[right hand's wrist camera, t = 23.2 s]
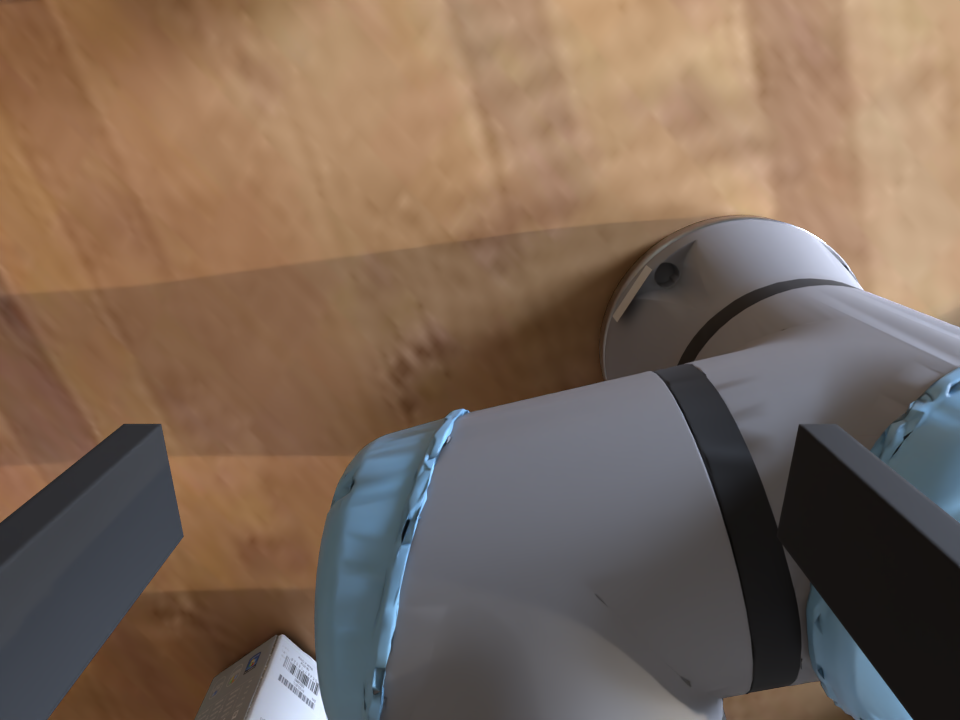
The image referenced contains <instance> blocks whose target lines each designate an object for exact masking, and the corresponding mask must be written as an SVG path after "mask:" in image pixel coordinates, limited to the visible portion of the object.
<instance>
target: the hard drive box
mask: <svg viewBox="0 0 960 720" xmlns="http://www.w3.org/2000/svg"><path fill="white" fill-rule="evenodd" d="M194 720H327V716H326V713H325V710H324V706H323V702H322V698H321V694H320V688H319V682H318V674H317V664H316V661H315V660H313V659H312V658H311V657H310V656H309V655H307V654H306V653H305V652H303V651H302V650H301V649H300V648H299V647H298V646H296V645H295V644H294V643H293V642H292V641H291V640H290V639H288V638H287V637H286V636H285V635H283V634H281V635H279V636H278V635H275V636H274V637H272V638H271V639H269V640H268V641H266V642H265V643H263V644H262V645H260V646H259V647H257V648H256V649H255V650H253V651H252V652H250V653H249V654H247V655H246V656H244V657H243V658H241V659H240V660H239V661H237V662H236V663H234V664H233V665H231V666H230V667H228V668H227V669H225V670H224V671H223V672H221V673H220V674H218V675H217V676H216V677H214V679H213V681H212V683H211V685H210V687H209V689H208V691H207V694H206V696H205V698H204V700H203V702H202V704H201V706H200V709H199V711H198V713H197V715H196V717H195V719H194Z"/></svg>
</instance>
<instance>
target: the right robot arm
mask: <svg viewBox="0 0 960 720" xmlns="http://www.w3.org/2000/svg"><path fill="white" fill-rule="evenodd" d="M599 356H600V365H601V371H602V375H603V378H604V382H600V383H595V384H591V385H587V386H582V387H578V388H574V389H569V390H565V391H561V392H556V393H552V394H548V395H543V396H539V397H535V398H530V399H526V400H521V401H517V402H513V403H508V404H504V405H500V406H495V407H491V408H487V409H482V410H478V411H474V412H469V411H468V410H465V409H463V408H462V409H458V410H454V411H452V412H450V413H449V414H448V415H447V416H446V417H445V418H443V419H439V420H436V421H432V422H429V423H425V424H422V425H418V426H415V427H411V428H408V429H404V430H401V431H397V432H394V433H390V434H387V435H384V436H382V437H379V438H377V439H375V440H374V441H372V442H370V443H369V444H367V445H366V446H365V447H364V448H363V449H362V450H360V451H359V452H358V454H357V455H356V456H355V457H354V458H353V460H352V461H351V462H350V464H349V465H348V466H347V468H346V470H345V472H344V474H343V475H342V477H341V479H340V481H339V483H338V485H337V488H336V491H335V494H334V497H333V500H332V505H331V508H330V511H329V512H328V514H327V518H326V522H325V526H324V531H323V535H322V540H321V546H320V552H319V559H318V567H317V576H316V590H315V615H314V623H315V651H316V664H317V674H318V682H319V688H320V694H321V698H322V702H323V706H324V710H325V713H326V716H327V720H726V717H725V713H724V709H723V698H726V697H732V696H737V695H743V694H748V693H751V692H757V691H762V690H768V689H773V688H779V687H784V686H792V685H798V684H804V683H809V682H815V681H821V686H822V687H823V689H824V691H825V693H826V695H827V696H828V697H829V698H831V699H832V700H833V701H834V704H835V705H836V706H838V707H840V708H841V709H842V710H843V711H844V712H845V713H846V714H848V715H850V716H852V717H853V718H854V719H855V720H960V327H957V326H954V325H952V324H949V323H947V322H944V321H942V320H939V319H936V318H934V317H931V316H929V315H926V314H923V313H921V312H918V311H916V310H913V309H911V308H908V307H905V306H903V305H900V304H898V303H895V302H893V301H890V300H887V299H885V298H882V297H880V296H877V295H875V294H872V293H869V292H866V291H864V290H863V289H862V287H861V286H860V284H859V282H858V281H857V279H856V277H855V275H854V274H853V272H852V271H851V269H850V268H849V266H848V265H847V264H846V263H845V261H844V260H843V259H842V258H841V257H840V256H839V255H838V254H837V252H835V251H834V250H833V249H832V248H831V247H830V246H828V245H827V244H826V243H824V242H823V241H822V240H820V239H819V238H817V237H816V236H814V235H813V234H811V233H809V232H807V231H805V230H803V229H801V228H799V227H796V226H794V225H791V224H788V223H784V222H780V221H777V220H773V219H769V218H765V217H758V216H747V215H735V216H723V217H717V218H712V219H708V220H704V221H700V222H697V223H695V224H692V225H689V226H687V227H685V228H682V229H680V230H678V231H676V232H674V233H672V234H671V235H669V236H667V237H665V238H664V239H662V240H661V241H660V242H658V243H657V244H655V245H654V246H653V247H651V248H650V249H649V250H648V251H647V252H645V253H644V254H643V255H642V256H641V257H640V258H639V259H638V260H637V261H636V262H635V263H634V264H633V266H632V267H631V268H630V269H629V270H628V272H627V273H626V274H625V275H624V277H623V278H622V280H621V281H620V283H619V284H618V286H617V288H616V290H615V291H614V293H613V295H612V297H611V299H610V302H609V304H608V306H607V309H606V312H605V315H604V318H603V322H602V327H601V333H600V341H599ZM183 537H184V536H183V531H182V526H181V521H180V516H179V511H178V506H177V501H176V496H175V491H174V486H173V481H172V476H171V471H170V466H169V461H168V456H167V451H166V446H165V441H164V436H163V431H162V426H161V424H123V425H122V426H121V427H120V428H118V429H117V430H116V431H115V432H113V433H112V434H111V435H110V436H108V437H107V438H106V439H105V440H103V441H102V442H101V443H100V444H98V445H97V446H96V447H95V448H93V449H92V450H91V451H90V452H88V453H87V454H86V455H85V456H83V457H82V458H81V459H80V460H78V461H77V462H76V463H75V464H73V465H72V466H71V467H70V468H68V469H67V470H66V471H65V472H63V473H62V474H61V475H60V476H58V477H57V478H56V479H55V480H53V481H52V482H51V483H50V484H48V485H47V486H46V487H45V488H43V489H42V490H41V491H40V492H38V493H37V494H36V495H35V496H33V497H32V498H31V499H30V500H28V501H27V502H26V503H25V504H23V505H22V506H21V507H20V508H18V509H17V510H16V511H15V512H13V513H12V514H11V515H10V516H8V517H7V518H6V519H5V520H3V521H2V522H1V523H0V720H47V719H48V718H49V716H50V715H51V714H52V712H53V711H54V710H55V708H56V707H57V706H58V704H59V703H60V702H61V700H62V699H63V698H64V696H65V695H66V694H67V692H68V691H69V690H70V688H71V687H72V686H73V684H74V683H75V682H76V680H77V679H78V678H79V676H80V675H81V673H82V672H83V671H84V669H85V668H86V667H87V665H88V664H89V663H90V661H91V660H92V659H93V657H94V656H95V655H96V653H97V652H98V651H99V649H100V648H101V647H102V645H103V644H104V643H105V641H106V640H107V639H108V637H109V636H110V635H111V633H112V632H113V631H114V629H115V628H116V627H117V625H118V624H119V622H120V621H121V620H122V618H123V617H124V616H125V614H126V613H127V612H128V610H129V609H130V608H131V606H132V605H133V604H134V602H135V601H136V600H137V598H138V597H139V596H140V594H141V593H142V592H143V590H144V589H145V588H146V586H147V585H148V584H149V582H150V581H151V580H152V578H153V577H154V576H155V574H156V573H157V571H158V570H159V569H160V567H161V566H162V565H163V563H164V562H165V561H166V559H167V558H168V557H169V555H170V554H171V553H172V551H173V550H174V549H175V547H176V546H177V545H178V543H179V542H180V541H181V539H182V538H183Z"/></svg>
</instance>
